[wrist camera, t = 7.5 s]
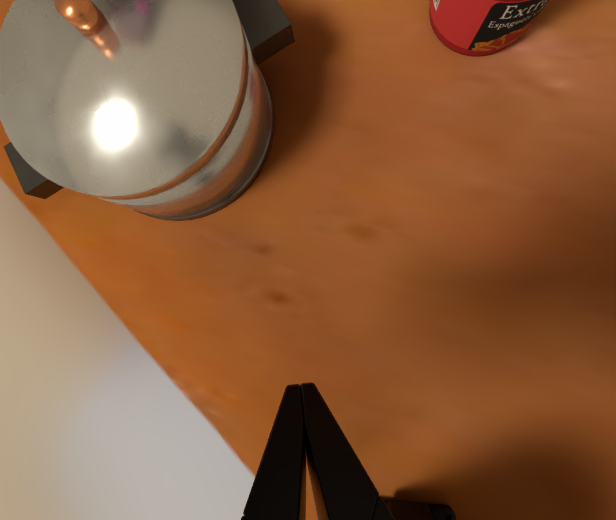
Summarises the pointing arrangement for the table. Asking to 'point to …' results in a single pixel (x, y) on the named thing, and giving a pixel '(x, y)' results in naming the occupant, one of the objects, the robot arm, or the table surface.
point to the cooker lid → (121, 90)
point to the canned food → (482, 23)
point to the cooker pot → (235, 151)
